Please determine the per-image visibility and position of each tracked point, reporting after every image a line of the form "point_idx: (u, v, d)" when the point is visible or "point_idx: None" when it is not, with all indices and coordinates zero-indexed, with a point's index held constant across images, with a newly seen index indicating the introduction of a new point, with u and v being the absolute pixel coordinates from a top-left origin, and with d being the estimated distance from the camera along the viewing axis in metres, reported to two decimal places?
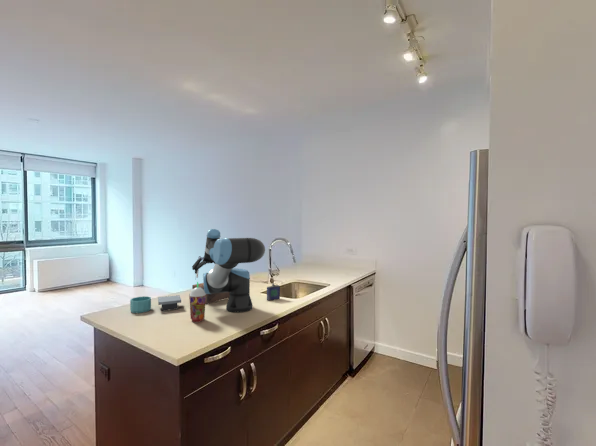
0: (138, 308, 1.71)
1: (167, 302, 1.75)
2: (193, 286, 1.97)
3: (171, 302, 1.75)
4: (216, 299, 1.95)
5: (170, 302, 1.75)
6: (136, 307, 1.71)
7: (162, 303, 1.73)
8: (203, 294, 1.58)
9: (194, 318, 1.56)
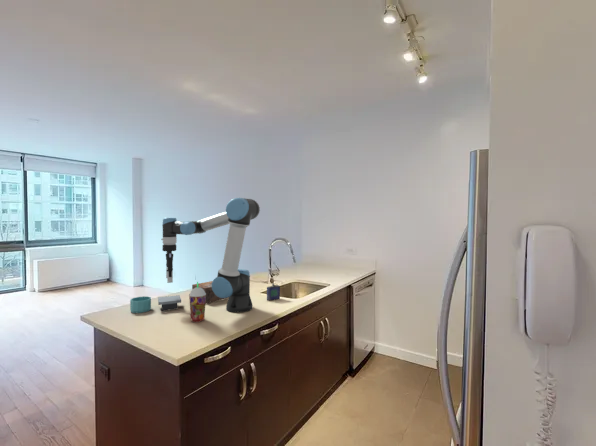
0: (138, 308, 1.71)
1: (167, 302, 1.75)
2: (193, 286, 1.98)
3: (171, 302, 1.75)
4: (215, 299, 1.95)
5: (170, 302, 1.75)
6: (136, 307, 1.71)
7: (162, 303, 1.73)
8: (203, 294, 1.58)
9: (194, 318, 1.56)
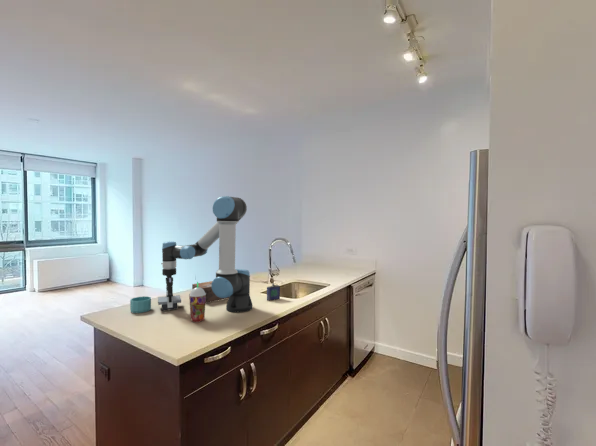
0: (138, 308, 1.71)
1: None
2: (193, 285, 1.99)
3: None
4: (214, 299, 1.95)
5: None
6: (136, 307, 1.71)
7: (162, 303, 1.73)
8: (203, 294, 1.58)
9: (194, 318, 1.56)
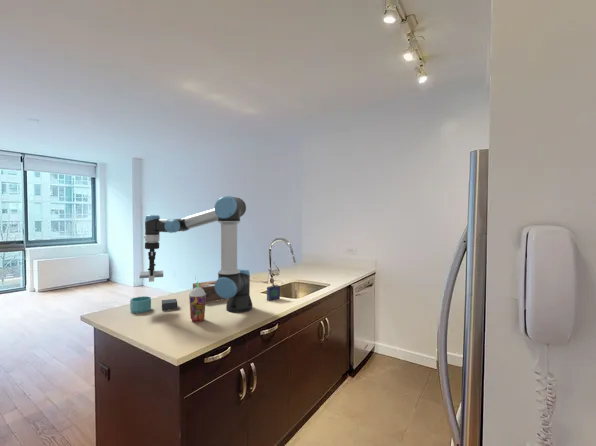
0: (138, 308, 1.71)
1: None
2: (193, 284, 2.01)
3: None
4: (211, 299, 1.95)
5: None
6: (136, 307, 1.71)
7: (143, 276, 1.71)
8: (203, 294, 1.58)
9: (194, 318, 1.56)
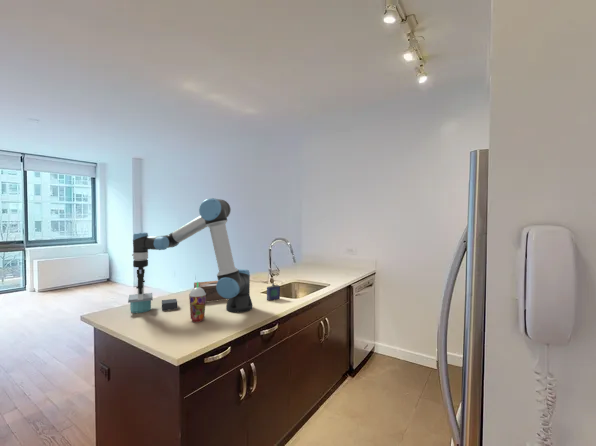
0: (138, 308, 1.71)
1: (137, 300, 1.70)
2: (194, 284, 2.04)
3: (142, 300, 1.71)
4: (209, 299, 1.95)
5: (141, 300, 1.71)
6: (136, 307, 1.71)
7: (132, 301, 1.69)
8: (203, 294, 1.58)
9: (194, 318, 1.56)
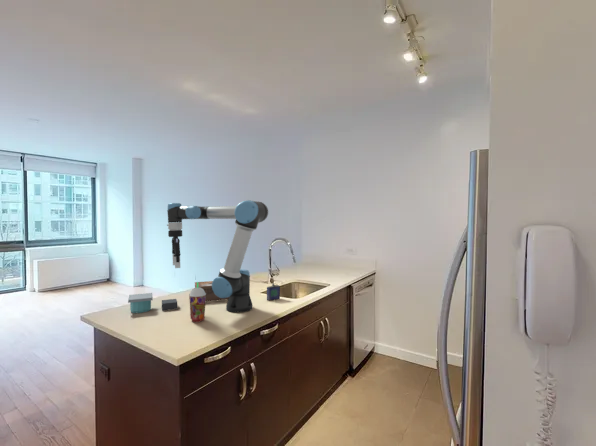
0: (138, 308, 1.71)
1: (137, 300, 1.70)
2: None
3: (142, 300, 1.71)
4: (208, 299, 1.95)
5: (141, 300, 1.71)
6: (136, 307, 1.71)
7: (132, 301, 1.69)
8: (203, 294, 1.58)
9: (194, 318, 1.56)
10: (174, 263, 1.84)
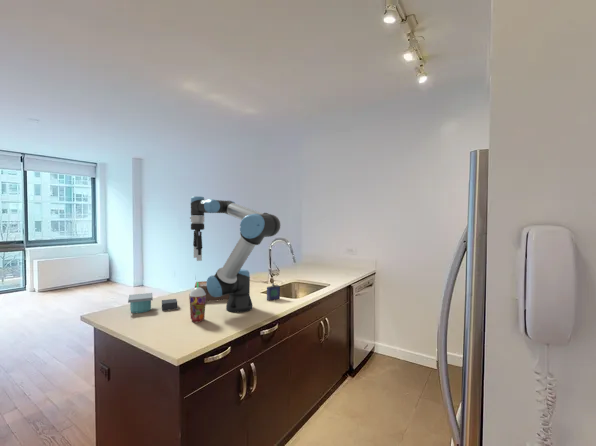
0: (138, 308, 1.71)
1: (137, 300, 1.70)
2: None
3: (142, 300, 1.71)
4: (207, 299, 1.96)
5: (141, 300, 1.71)
6: (136, 307, 1.71)
7: (132, 301, 1.69)
8: (203, 294, 1.58)
9: (194, 318, 1.56)
10: (195, 255, 1.87)
